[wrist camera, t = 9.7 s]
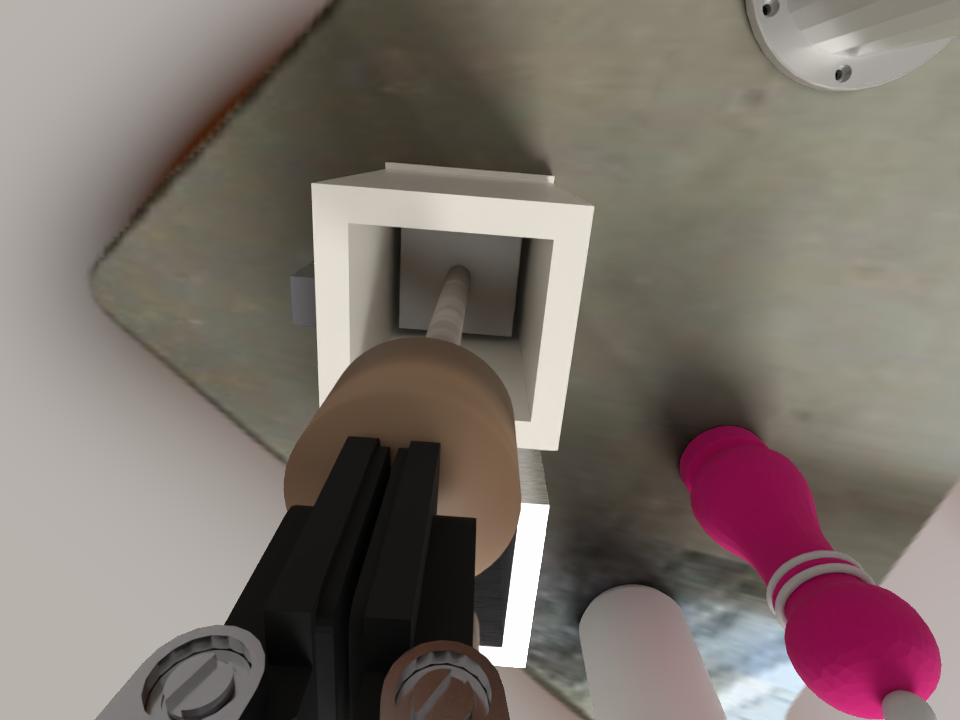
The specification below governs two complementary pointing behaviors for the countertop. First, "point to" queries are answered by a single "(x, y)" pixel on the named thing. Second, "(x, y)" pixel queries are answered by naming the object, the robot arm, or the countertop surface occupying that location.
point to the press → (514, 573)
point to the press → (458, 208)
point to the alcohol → (644, 659)
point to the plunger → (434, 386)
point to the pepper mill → (811, 581)
